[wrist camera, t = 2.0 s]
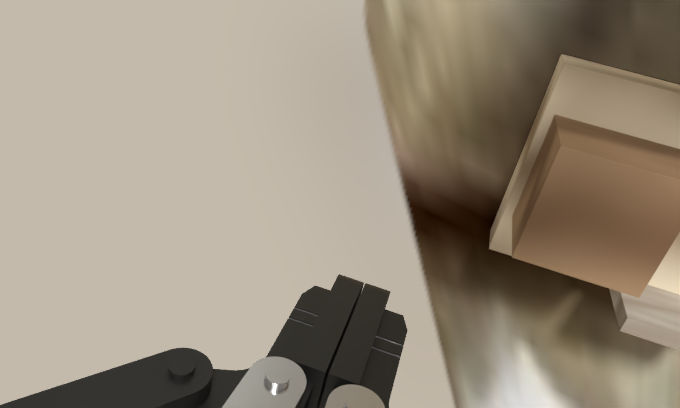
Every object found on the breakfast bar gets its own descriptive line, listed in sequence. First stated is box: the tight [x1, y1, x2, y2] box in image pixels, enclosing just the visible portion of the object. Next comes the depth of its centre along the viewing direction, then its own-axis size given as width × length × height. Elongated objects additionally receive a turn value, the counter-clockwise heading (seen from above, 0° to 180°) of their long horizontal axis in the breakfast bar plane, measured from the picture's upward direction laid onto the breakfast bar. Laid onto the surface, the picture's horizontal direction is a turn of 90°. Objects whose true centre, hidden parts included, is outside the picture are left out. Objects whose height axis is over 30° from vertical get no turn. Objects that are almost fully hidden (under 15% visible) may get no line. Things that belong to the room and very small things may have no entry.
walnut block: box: [512, 115, 680, 298], centre depth 24 cm, size 6×6×4 cm
